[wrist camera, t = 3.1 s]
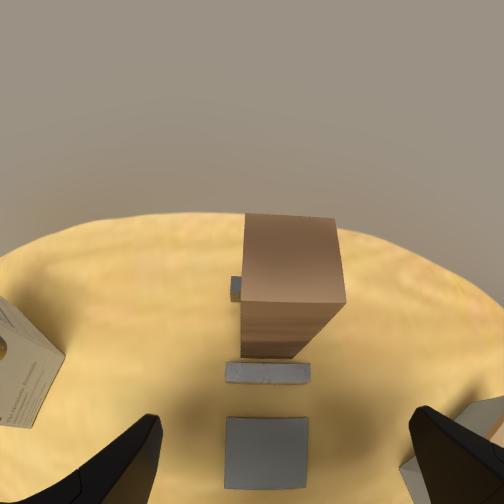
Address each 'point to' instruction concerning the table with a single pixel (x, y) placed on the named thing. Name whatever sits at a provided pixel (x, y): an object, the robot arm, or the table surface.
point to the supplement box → (23, 367)
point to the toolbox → (473, 418)
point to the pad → (266, 453)
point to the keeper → (260, 371)
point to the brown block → (288, 283)
